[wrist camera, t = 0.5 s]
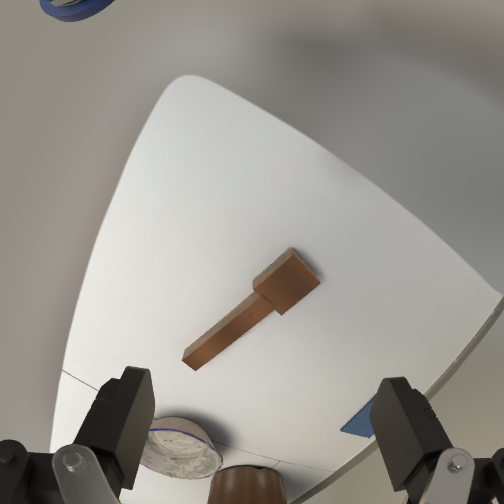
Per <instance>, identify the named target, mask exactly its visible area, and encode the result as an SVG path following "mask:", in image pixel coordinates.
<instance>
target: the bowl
mask: <svg viewBox="0 0 504 504" xmlns="http://www.w3.org/2000/svg"><path fill="white" fill-rule="evenodd" d="M222 458H223V457H222V456H221V455H220V454H219V452H218V451H217V450H216V448H215V447H214V445H213V443H212V442H211V440H210V438H209V437H208V435H207V434H206V432H205V431H204V430H203V429H202V428H201V427H200V426H199V425H197V424H196V423H194V422H192V421H190V420H187V419H184V418H179V417H164V418H160V419H158V420H156V421H155V422H153V423H151V426H150V430H149V433H148V436H147V440H146V443H145V446H144V450H143V453H142V457H141V460H140V464H141V465H144V466H145V467H147V468H149V469H150V470H153V471H155V472H158V473H160V474H163V475H166V476H169V477H171V478H172V477H175V478H179V479H190V480H191V479H201V478H205V477H209V476H211V475H213V474H214V473H216V472H217V471H218V470H219V469H220V468H221V466H222V465H223V459H222Z"/></svg>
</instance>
